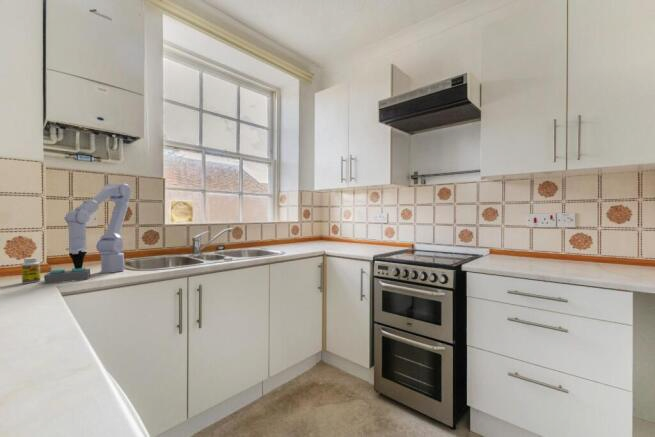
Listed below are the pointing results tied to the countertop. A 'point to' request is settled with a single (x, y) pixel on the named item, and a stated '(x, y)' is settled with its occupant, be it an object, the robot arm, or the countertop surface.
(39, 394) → the countertop surface
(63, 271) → the knob
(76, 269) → the knob
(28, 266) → the supplement bottle
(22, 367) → the countertop surface
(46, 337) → the countertop surface
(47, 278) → the panel box
